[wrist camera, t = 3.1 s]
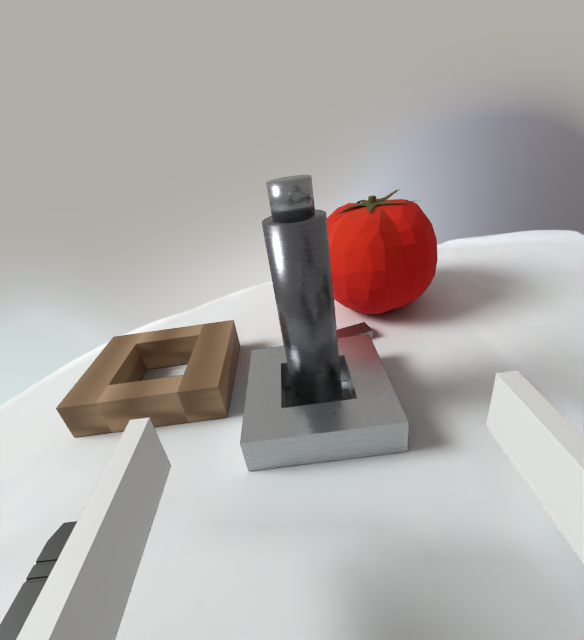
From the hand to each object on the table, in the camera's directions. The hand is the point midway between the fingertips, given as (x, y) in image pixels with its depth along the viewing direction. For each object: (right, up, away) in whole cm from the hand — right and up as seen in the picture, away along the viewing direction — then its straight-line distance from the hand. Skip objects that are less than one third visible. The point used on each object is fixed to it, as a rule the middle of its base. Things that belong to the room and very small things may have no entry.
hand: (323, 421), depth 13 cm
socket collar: (+1, -2, +12) cm, 13 cm away
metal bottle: (+1, -2, +12) cm, 13 cm away
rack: (-12, -2, +17) cm, 21 cm away
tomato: (+8, +6, +25) cm, 27 cm away
